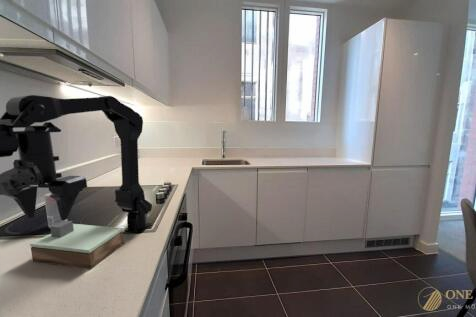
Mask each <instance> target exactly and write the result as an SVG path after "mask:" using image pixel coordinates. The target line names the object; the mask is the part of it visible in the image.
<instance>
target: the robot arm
mask: <svg viewBox="0 0 476 317" xmlns="http://www.w3.org/2000/svg"><path fill="white" fill-rule="evenodd" d="M5 110H6V111H5V112H4V113H3V114H2V116H0V158H7V157H12V156H13V154H14V153H17V152H18V156H19V158H18V159H14V160H13V162H12V163H13V168H11V169H8V170H5V171H3V172H2V173H0V196H1V195H2V196H5V197H8V198H11V199H13V200H14V201H15V202H16V204H17V205H18V206H19V208H20V209H21V211H22V212H23V213H24V215H25V216H26V218H28V219H33V218H34V217H35V213H36V207H37V206H36V205H37V197H38V188H42V189H48V191H49V193H52V194H53V195H50V197H51V198H53V199H55V200H56V202H57V206H58V210H59V214H60V217H61V220H62V221H64V220H66V219H67V220H68V218H69V215H70V213H71V210H72V208H73V206H74V204H75V201H76V199H77V197H78V195H79V194H80V192H82V191H84V189H86V188H88V183H87V182H88V181H87V178H85V177H84V176H83V175H67V176H64V177H63V176H62V172H57V168H56V162H58V161H60V156H59V155H54V149H53V142H52V136H51V133H61V132H62V129H61V128H59V127H58V126H55V125H54V124H53V123H52V122H50V121H51V120H55V119H58V118H61V117H63V116H67V115H70V114H81V113H83V114H84V113H90V112H100V111H101V112H102V113H103V114H104V115H105V117H106V118H107V120H109V121H110V122H112V123H113V126H114V130H115V133H116V134H117V136H118V138H119V140H120V160H121V162H120V163H121V180H122V181H121V185H120V187H119V189H118V188H117V189H115V190H114V194H115V200H114V202H115V203H116V204H117V207H119V208H120V209H121V210H122V212H123V213H126V217H127V220H126V223H127V227H126V228H125V229H124V232H127V233H141V234H142V233H143V232H145V231H146V230H147V229H148V228H150V227H151V226H152V225H153V224H152V223H151V222H148V214H149V213H150V212H151V211H152V208H153V204H152V203H151V202H149V201H148V200H146V197H145V191H144V189H143V188H142V185H141V184H140V181H139V180H140V179H139V150H138V147H139V146H138V144H139V143H138V140H139V138H140V137H141V134H142V132H143V125H144V121H143V117H142V116H141V115H140V113H138V112H137V111H135V110H134V109H133V108H131V107H130V106H128V105H126V104H124V103H122V102H121V101H120V100H118V99H117V98H116V97H115V96H112V95H103V96H98V97H96V96H95V97H82V98H81V97H80V98H79V97H77V98H58V97H57V98H56V97H52V96H47V95H46V96H44V95H37V94H30V95H21V96H15V97H10V99H9V100H8V101H7V102H6V105H5ZM36 123H37V124H38V123H40V124H41V123H43V124H42V125H33V124H36ZM17 128H19V129H20V128H21V129H23V128H24V130H14V129H17ZM145 229H146V230H145Z"/></svg>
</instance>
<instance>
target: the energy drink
mask: <svg viewBox="0 0 476 317" xmlns="http://www.w3.org/2000/svg"><path fill="white" fill-rule="evenodd" d="M50 195H53V194H52V193H51V192H48V193H45V195H44V197H43V198H44V204H45V210H46V211H45V212H46V217H47V218H46V219H47V226H48V228H49V229H50V226H53V225H55V224H57V223H59V222H62V220H61V217H60V214H59V210H58V206H57V202H56V200H55V199H53V198H51V197H50ZM64 221H68V218H67V219H66V220H64Z"/></svg>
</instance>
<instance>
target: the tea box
mask: <svg viewBox="0 0 476 317" xmlns="http://www.w3.org/2000/svg"><path fill="white" fill-rule="evenodd" d="M124 240H125V239H124V232H123V231H121V232H120V233H118V234H117V235H116V236H114V237H113V238H111V239H110V240H108V241H107V242H105V243H104V244H102V245H101V246H99V247H98V248H96V249H95V250H93V251H92V252H91V253H83V252H74V251H66V250H57V249H48V248H39V247H31V246H30V252H31V258H32V262H34V263H42V264H50V265H56V266H57V265H58V266H63V267H65V266H66V267H72V268H73V267H74V268H82V269H88V270H89V269H90V270H92V269H93V268H95V267H97V266H98V265H99V264H100V263H101V262H102V261H104V260H105V259H106V258H108V257H109V256H110V255H112V254H113V253H114V252H115V251H117V250H118V249H119V248H121V247H122V246H123V245H124V244H125V241H124Z"/></svg>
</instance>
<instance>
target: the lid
mask: <svg viewBox="0 0 476 317" xmlns="http://www.w3.org/2000/svg"><path fill="white" fill-rule="evenodd" d="M73 222H74V221H73V220H67V221H62V222H59V223H57V224H55V225H53V226H50V228H49V229H50V234H48V235H45V236H43V237H41V238H39V239H37V240H34V241H33V242H31V243H29V246H30V248H31V247H39V248H48V249H57V250H66V251H74V252H83V253H91V252H92V251H93V250H95V249H96V248H98V247H99V246H101V245H102V244H104V243H105V242H107V241H108V240H110V239H111V238H113V237H114V236H116V235H117V234H118V233H120V232H121V231H123V227H115V226H114V227H113V226H103V225H91V224H83V223H81V224H79V223H73Z"/></svg>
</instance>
